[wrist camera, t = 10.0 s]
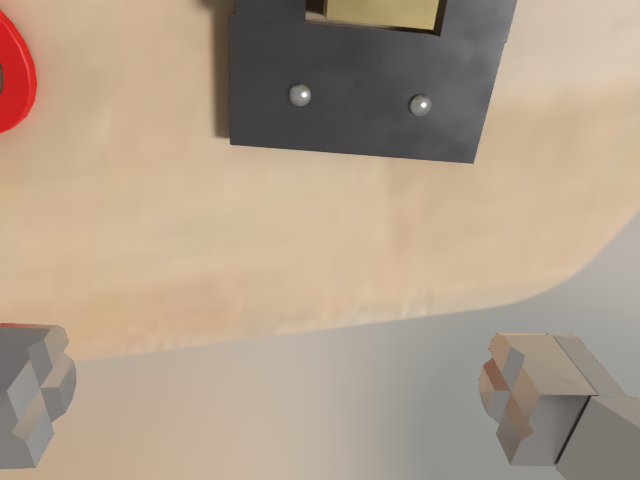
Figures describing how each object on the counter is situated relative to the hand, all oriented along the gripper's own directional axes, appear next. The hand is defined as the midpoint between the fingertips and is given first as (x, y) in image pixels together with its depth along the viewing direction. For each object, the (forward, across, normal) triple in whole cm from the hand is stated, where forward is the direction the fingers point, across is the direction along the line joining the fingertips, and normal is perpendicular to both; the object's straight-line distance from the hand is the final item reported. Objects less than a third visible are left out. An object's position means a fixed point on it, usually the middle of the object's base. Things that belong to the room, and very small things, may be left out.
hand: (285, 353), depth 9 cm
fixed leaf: (+21, -4, -3) cm, 22 cm away
